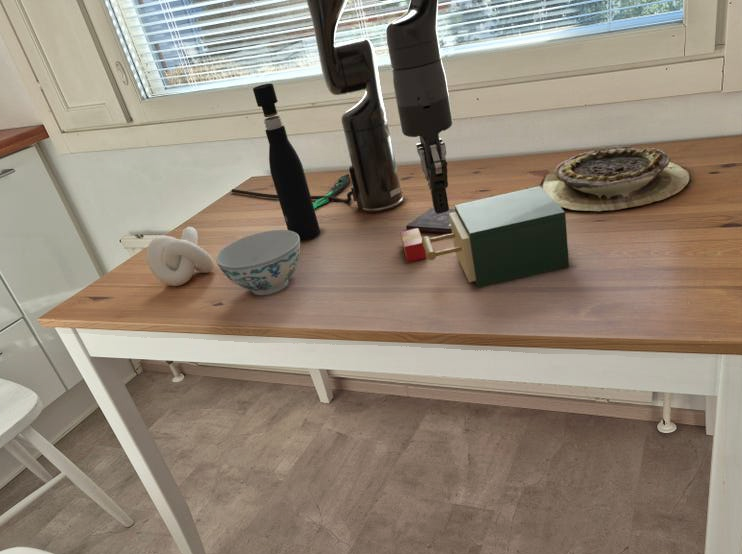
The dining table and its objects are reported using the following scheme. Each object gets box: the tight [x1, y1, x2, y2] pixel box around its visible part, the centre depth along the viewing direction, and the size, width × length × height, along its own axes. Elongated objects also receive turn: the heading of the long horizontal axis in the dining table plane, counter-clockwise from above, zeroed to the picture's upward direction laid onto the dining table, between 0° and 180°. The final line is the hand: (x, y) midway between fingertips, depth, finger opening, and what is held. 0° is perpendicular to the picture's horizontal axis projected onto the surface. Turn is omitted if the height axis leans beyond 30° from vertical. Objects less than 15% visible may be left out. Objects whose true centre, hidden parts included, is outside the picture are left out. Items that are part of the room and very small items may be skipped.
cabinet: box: [454, 185, 570, 288], centre depth 109 cm, size 15×14×9 cm
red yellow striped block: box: [399, 228, 427, 263], centre depth 122 cm, size 8×3×3 cm, turn 6°
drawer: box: [422, 212, 476, 283], centre depth 109 cm, size 19×12×7 cm, turn 96°
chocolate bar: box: [405, 207, 455, 234], centre depth 129 cm, size 9×1×18 cm
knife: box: [312, 173, 351, 210], centre depth 162 cm, size 23×1×5 cm
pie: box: [538, 145, 690, 212], centre depth 130 cm, size 28×27×5 cm
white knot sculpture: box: [145, 226, 215, 287], centre depth 133 cm, size 11×12×9 cm
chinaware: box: [215, 229, 301, 296], centre depth 120 cm, size 15×15×8 cm
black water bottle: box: [252, 83, 321, 243], centre depth 133 cm, size 6×6×30 cm
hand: (441, 211), depth 106 cm, fingers closed
